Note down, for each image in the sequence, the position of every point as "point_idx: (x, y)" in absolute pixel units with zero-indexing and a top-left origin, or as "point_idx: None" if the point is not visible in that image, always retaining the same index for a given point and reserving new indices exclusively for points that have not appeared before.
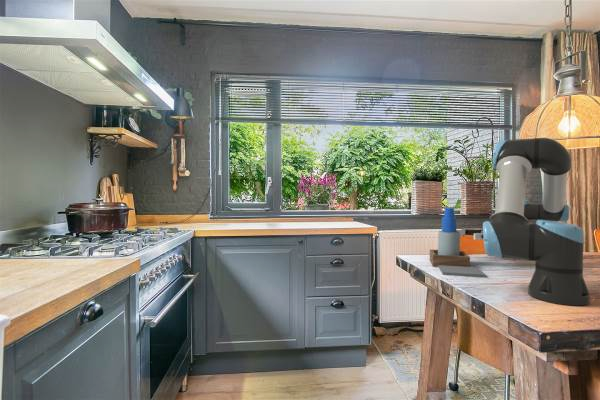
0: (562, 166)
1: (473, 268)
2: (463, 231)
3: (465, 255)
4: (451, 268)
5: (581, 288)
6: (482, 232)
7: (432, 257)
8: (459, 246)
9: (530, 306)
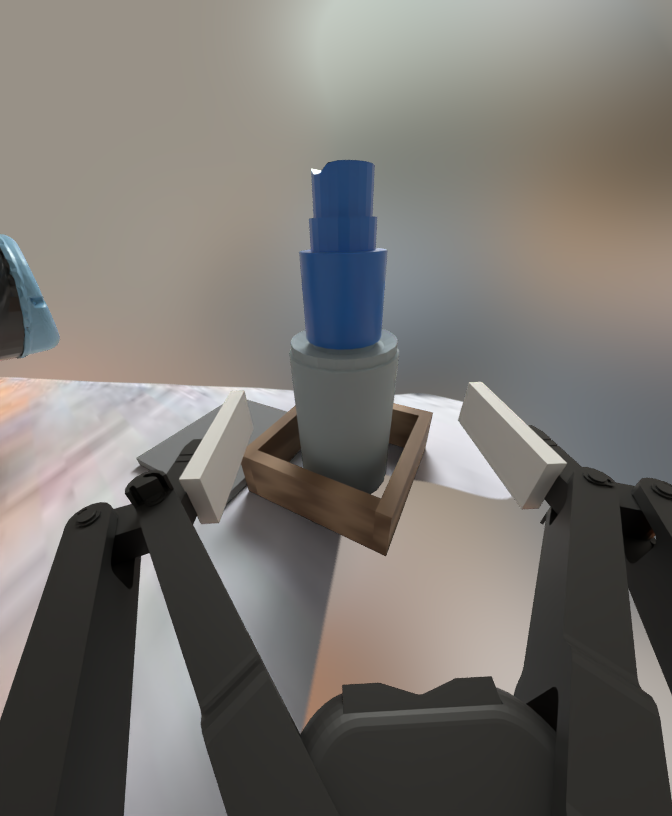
0: None
1: None
2: (523, 462)
3: (272, 456)
4: (255, 424)
5: None
6: (504, 694)
7: None
8: (303, 420)
9: None
